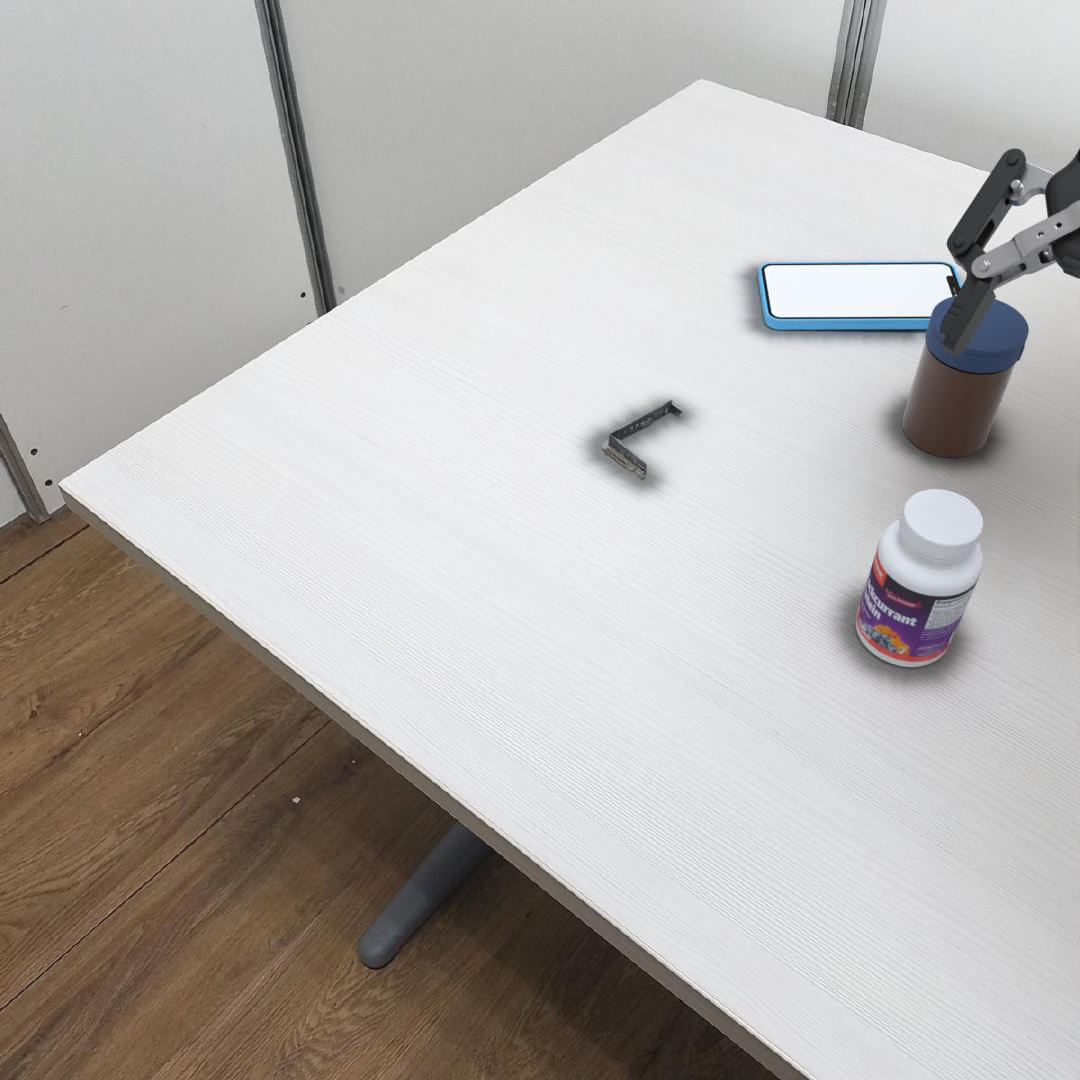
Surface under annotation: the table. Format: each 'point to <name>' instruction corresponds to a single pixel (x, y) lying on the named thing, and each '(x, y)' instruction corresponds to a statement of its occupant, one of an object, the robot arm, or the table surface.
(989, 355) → the jar lid
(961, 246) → the robot arm
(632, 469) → the bent metal strip
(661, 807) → the table surface
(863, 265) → the smartphone
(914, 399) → the jar
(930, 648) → the pill bottle
